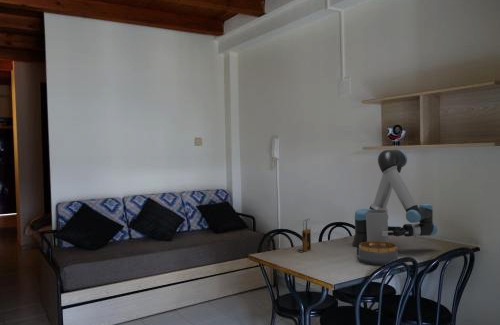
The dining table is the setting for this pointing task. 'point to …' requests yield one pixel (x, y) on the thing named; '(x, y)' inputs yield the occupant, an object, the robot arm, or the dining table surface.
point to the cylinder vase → (376, 225)
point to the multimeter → (306, 239)
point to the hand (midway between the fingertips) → (377, 231)
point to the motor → (377, 252)
